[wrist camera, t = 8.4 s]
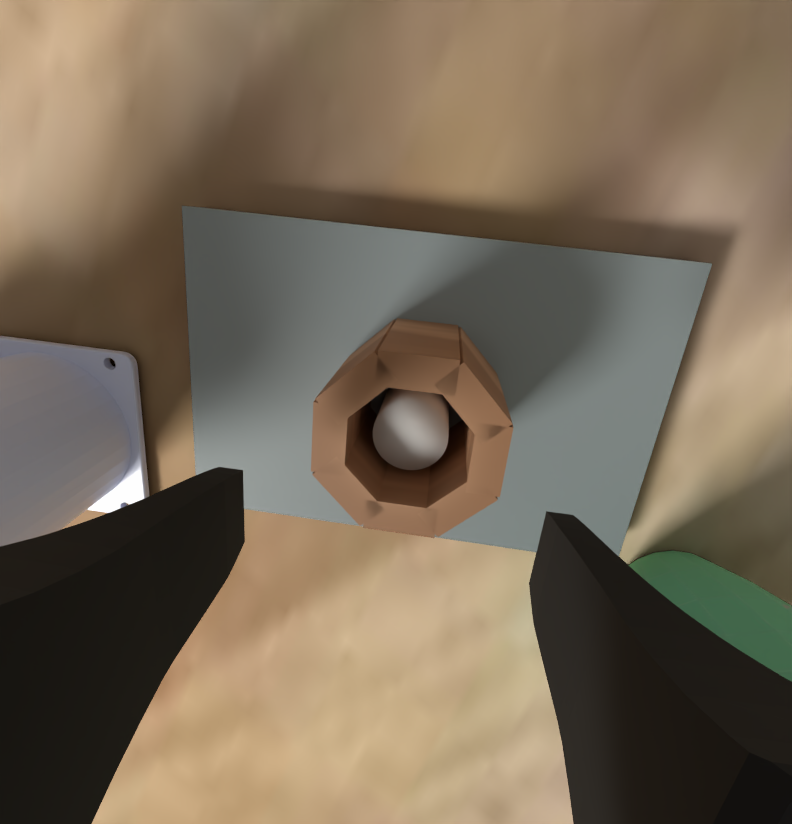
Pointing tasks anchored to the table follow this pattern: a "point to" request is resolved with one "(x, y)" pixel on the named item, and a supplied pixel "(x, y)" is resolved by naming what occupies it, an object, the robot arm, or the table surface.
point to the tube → (467, 443)
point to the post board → (482, 285)
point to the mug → (724, 605)
